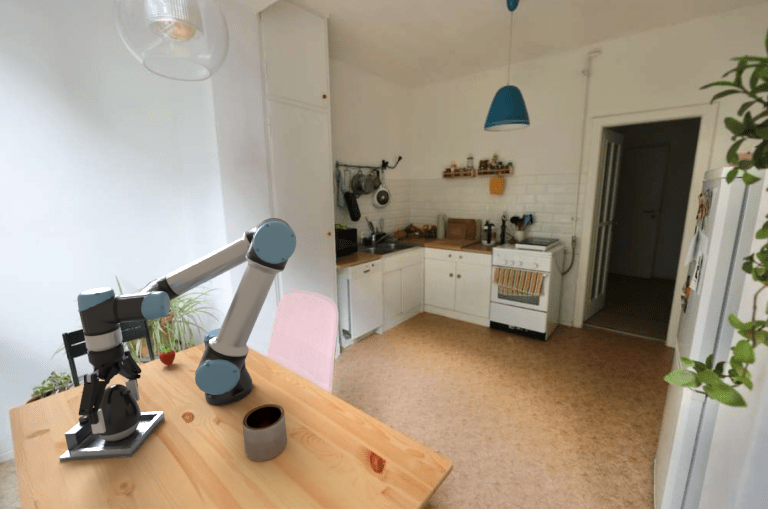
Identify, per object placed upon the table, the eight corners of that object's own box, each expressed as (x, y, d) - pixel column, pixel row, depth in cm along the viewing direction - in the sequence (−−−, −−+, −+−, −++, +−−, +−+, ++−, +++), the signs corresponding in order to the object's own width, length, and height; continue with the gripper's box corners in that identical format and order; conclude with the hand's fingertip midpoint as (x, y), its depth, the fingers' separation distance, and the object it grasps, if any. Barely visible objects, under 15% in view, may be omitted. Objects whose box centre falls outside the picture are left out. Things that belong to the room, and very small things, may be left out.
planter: (247, 469, 84) (243, 436, 82) (243, 441, 93) (240, 410, 91) (291, 453, 88) (288, 421, 87) (283, 428, 98) (280, 399, 96)
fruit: (164, 370, 131) (161, 351, 129) (158, 366, 134) (155, 348, 132) (179, 364, 135) (176, 345, 134) (172, 360, 138) (170, 342, 136)
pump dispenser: (119, 450, 89) (110, 398, 86) (88, 444, 91) (78, 394, 88) (152, 424, 98) (145, 377, 96) (123, 420, 101) (116, 374, 98)
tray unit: (164, 418, 103) (161, 397, 101) (131, 456, 88) (127, 432, 87) (103, 421, 101) (99, 400, 100) (59, 460, 87) (54, 436, 85)
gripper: (123, 327, 101) (133, 389, 105) (47, 370, 77) (65, 449, 81) (148, 326, 102) (158, 388, 106) (81, 369, 77) (97, 447, 81)
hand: (118, 415), depth 93 cm, fingers open, 13 cm apart
